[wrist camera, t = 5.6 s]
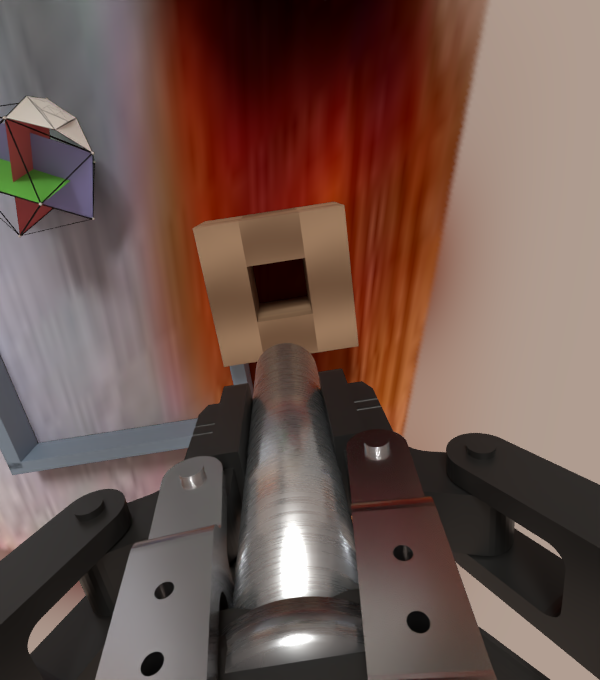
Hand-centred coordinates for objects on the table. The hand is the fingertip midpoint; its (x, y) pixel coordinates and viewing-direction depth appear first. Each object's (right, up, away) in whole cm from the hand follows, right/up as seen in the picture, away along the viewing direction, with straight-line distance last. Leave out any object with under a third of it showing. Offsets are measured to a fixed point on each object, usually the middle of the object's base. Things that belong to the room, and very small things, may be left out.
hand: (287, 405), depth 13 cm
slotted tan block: (-1, +7, +18) cm, 19 cm away
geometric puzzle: (-15, +13, +15) cm, 25 cm away
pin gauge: (0, +1, +2) cm, 3 cm away
